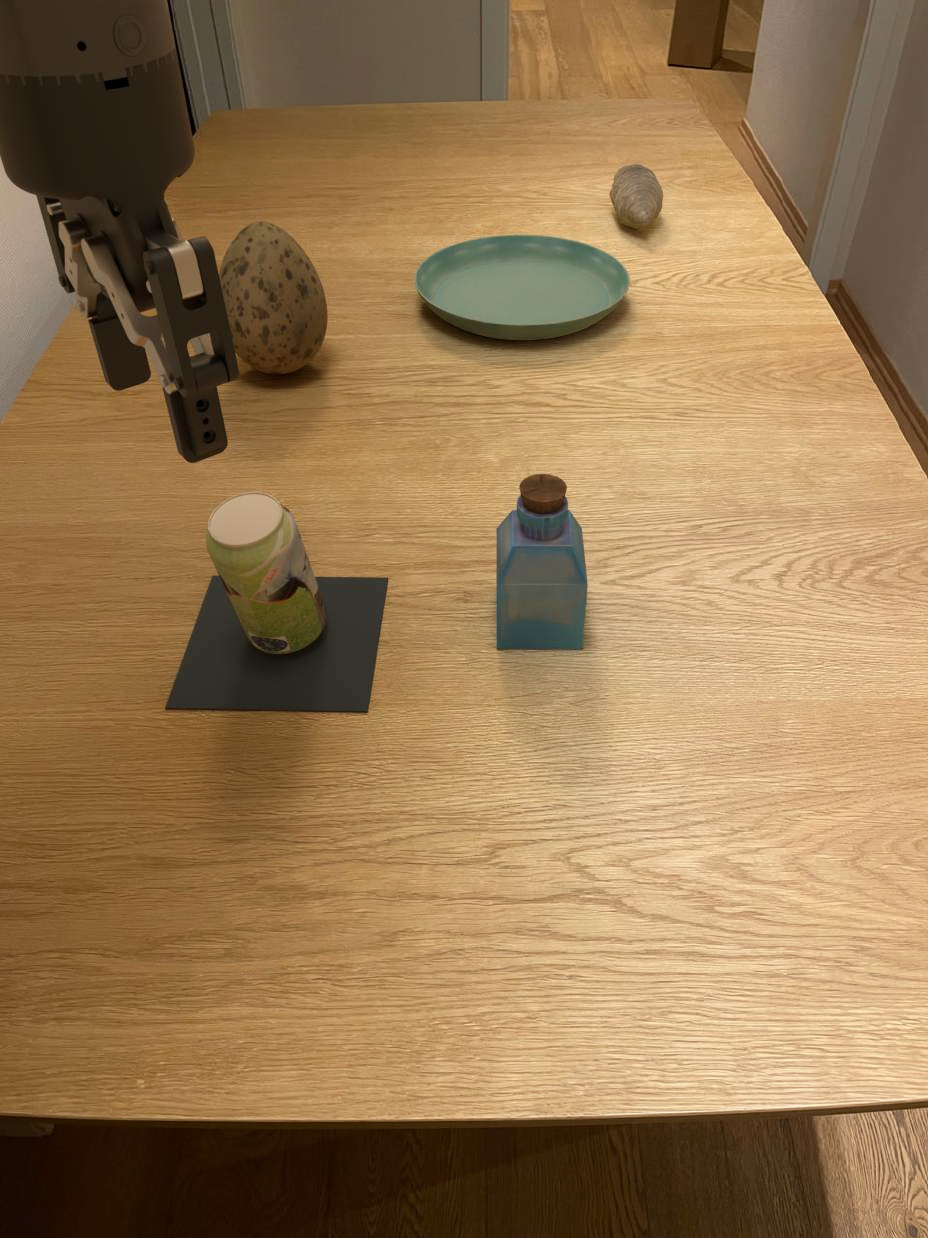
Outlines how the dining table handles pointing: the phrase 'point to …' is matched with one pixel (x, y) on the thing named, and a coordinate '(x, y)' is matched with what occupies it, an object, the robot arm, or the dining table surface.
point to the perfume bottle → (540, 570)
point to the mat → (284, 656)
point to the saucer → (521, 286)
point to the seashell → (636, 195)
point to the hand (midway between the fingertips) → (165, 417)
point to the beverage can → (266, 572)
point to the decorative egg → (272, 299)
